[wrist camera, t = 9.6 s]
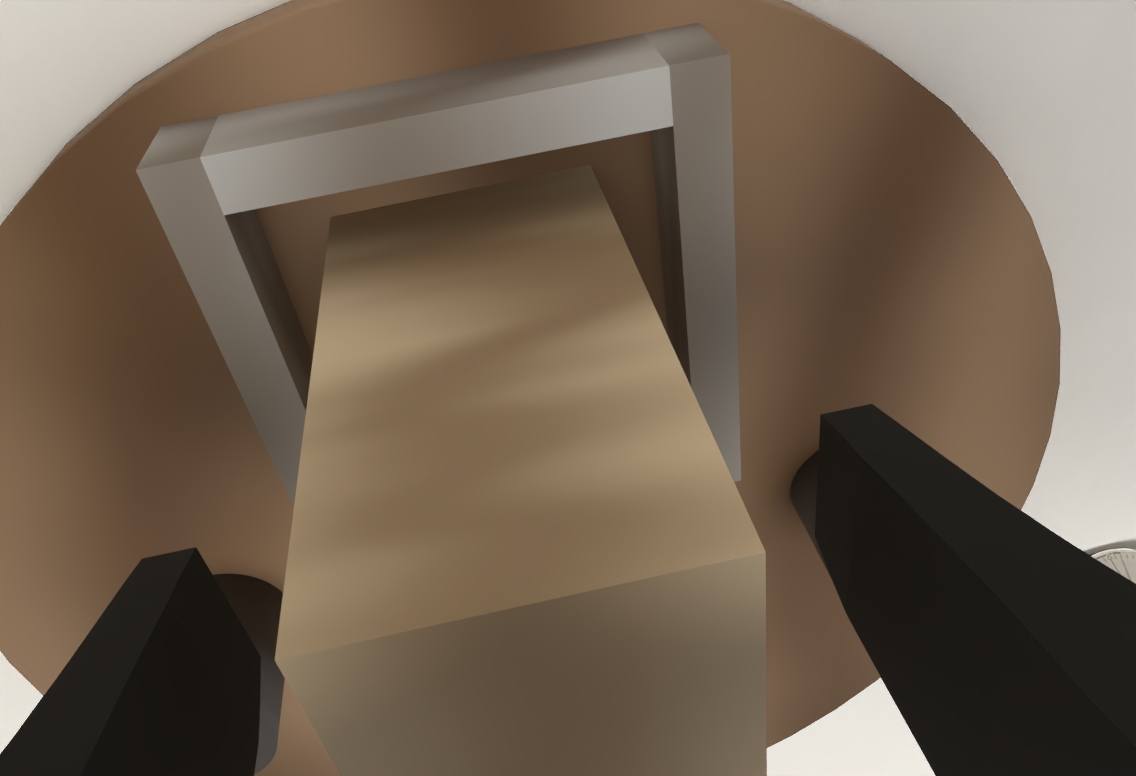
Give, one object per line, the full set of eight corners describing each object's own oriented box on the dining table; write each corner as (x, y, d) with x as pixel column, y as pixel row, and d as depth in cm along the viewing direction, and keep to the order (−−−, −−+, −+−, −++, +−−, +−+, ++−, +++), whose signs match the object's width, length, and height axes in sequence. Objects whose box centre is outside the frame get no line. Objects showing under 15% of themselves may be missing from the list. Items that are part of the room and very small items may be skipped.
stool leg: (590, 164, 13) (765, 551, 7) (617, 371, 16) (767, 797, 10) (330, 216, 13) (275, 659, 7) (398, 418, 16) (402, 882, 9)
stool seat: (1157, -175, 13) (1409, -143, 10) (957, 690, 26) (1035, 822, 23) (-395, 117, 12) (-679, 259, 9) (222, 859, 25) (198, 1020, 22)
